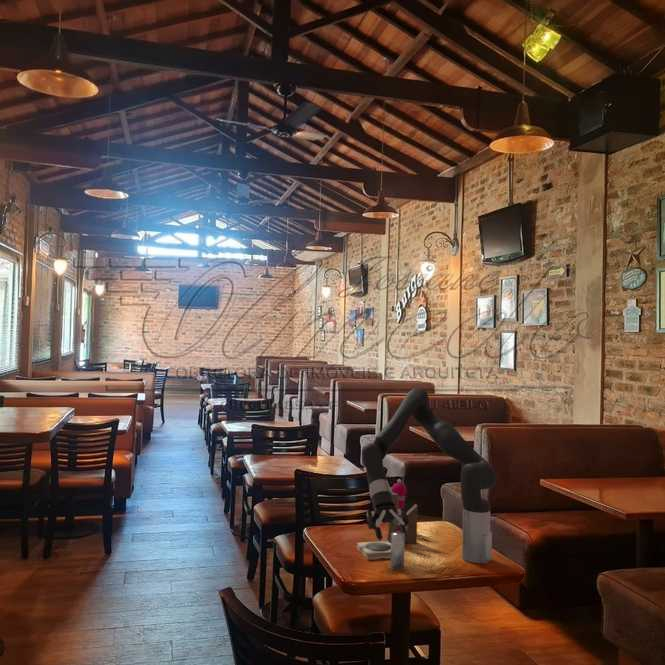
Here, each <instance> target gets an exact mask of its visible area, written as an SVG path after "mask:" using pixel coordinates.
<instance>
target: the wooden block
mask: <svg viewBox="0 0 665 665" xmlns="http://www.w3.org/2000/svg"><path fill="white" fill-rule="evenodd" d="M398 496H399V495H398V494H397V493H393V492H392V497H393V500H394V504H395V508H396V509H398ZM406 514H407V517H408V520H409V523H408V525H407V526H406V532H407V535H406V537H405V538H404V544H408V543H411V544H410V545H416V544H417V543H418V542H417V541H418V540H417V538H418V534H417V533H418V504H417V503H415V504H414V505H413V506H412V507H410V509H408V510H407V511H406ZM397 515H398V513H397ZM400 519H401V520H402V518H400ZM387 524H388V526H387V528H388V529H387V532H386V533H387V534H386V536H387V537H386V541H389V542H391V533H392V532H401V531H398V525H397V524H394V523H393V522H392V523H388V522H387Z"/></svg>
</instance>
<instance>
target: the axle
mask: <svg viewBox="0 0 665 665" xmlns="http://www.w3.org/2000/svg"><path fill="white" fill-rule="evenodd" d="M404 536H405V534H404V533H403V532H392V533H391V558H390V568H391V567H392V568H391V569H393V568H394V569H393V570H403V569H404V568H405V543H404ZM402 568H403V569H402Z"/></svg>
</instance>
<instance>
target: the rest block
mask: <svg viewBox="0 0 665 665" xmlns="http://www.w3.org/2000/svg"><path fill="white" fill-rule="evenodd" d="M356 549H357V550H358V551H359V552H360V554H362V556H363V557H364V556H365V557H366V558H365V557H364V558H365V559H366V561H367V560H368V559H369V560H380V559H379V558H385V559H391V558H390V557H391V543H390V542H389V541H387V540H377V541H366V542H365V541H364V542H360V541H359V542H356ZM369 560H368V561H369Z"/></svg>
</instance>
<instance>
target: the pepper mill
mask: <svg viewBox="0 0 665 665" xmlns="http://www.w3.org/2000/svg"><path fill="white" fill-rule="evenodd" d="M402 482H403V480H401V479H400V478H398V479H397V482H395V483H394V484H393V485H392V487H391V492H392V493H397V494H398V495H399V496H398V509H401V508H402V507H404V508H405V500H406V495H405V494H407V490H408V489H407V487H406V486H407V485H405V484H404V483H402ZM405 511H406V509H405ZM406 512H407V511H406ZM398 516H399V517H400V518H401V515H399V513H398ZM405 528H406V526H405ZM398 531H400V527H399V526H398Z"/></svg>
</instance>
